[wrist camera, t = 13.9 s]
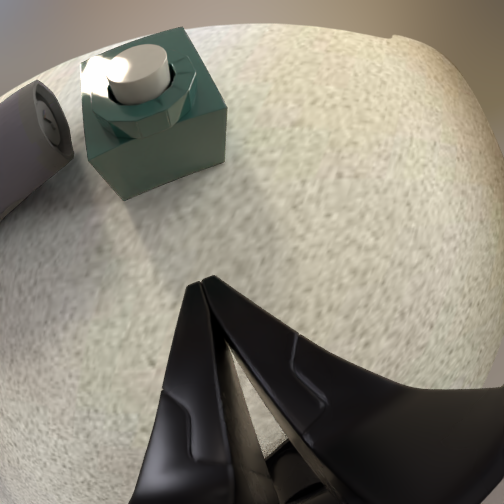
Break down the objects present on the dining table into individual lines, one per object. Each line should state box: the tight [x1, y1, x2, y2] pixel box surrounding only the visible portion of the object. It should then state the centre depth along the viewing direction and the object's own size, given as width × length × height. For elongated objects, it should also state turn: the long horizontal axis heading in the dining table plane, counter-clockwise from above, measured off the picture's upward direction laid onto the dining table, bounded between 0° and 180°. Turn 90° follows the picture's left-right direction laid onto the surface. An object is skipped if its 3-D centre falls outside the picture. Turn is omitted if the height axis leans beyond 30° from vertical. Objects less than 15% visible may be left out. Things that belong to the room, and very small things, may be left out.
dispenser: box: [81, 27, 227, 201], centre depth 18 cm, size 11×9×9 cm
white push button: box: [105, 44, 171, 105], centre depth 12 cm, size 4×4×2 cm
